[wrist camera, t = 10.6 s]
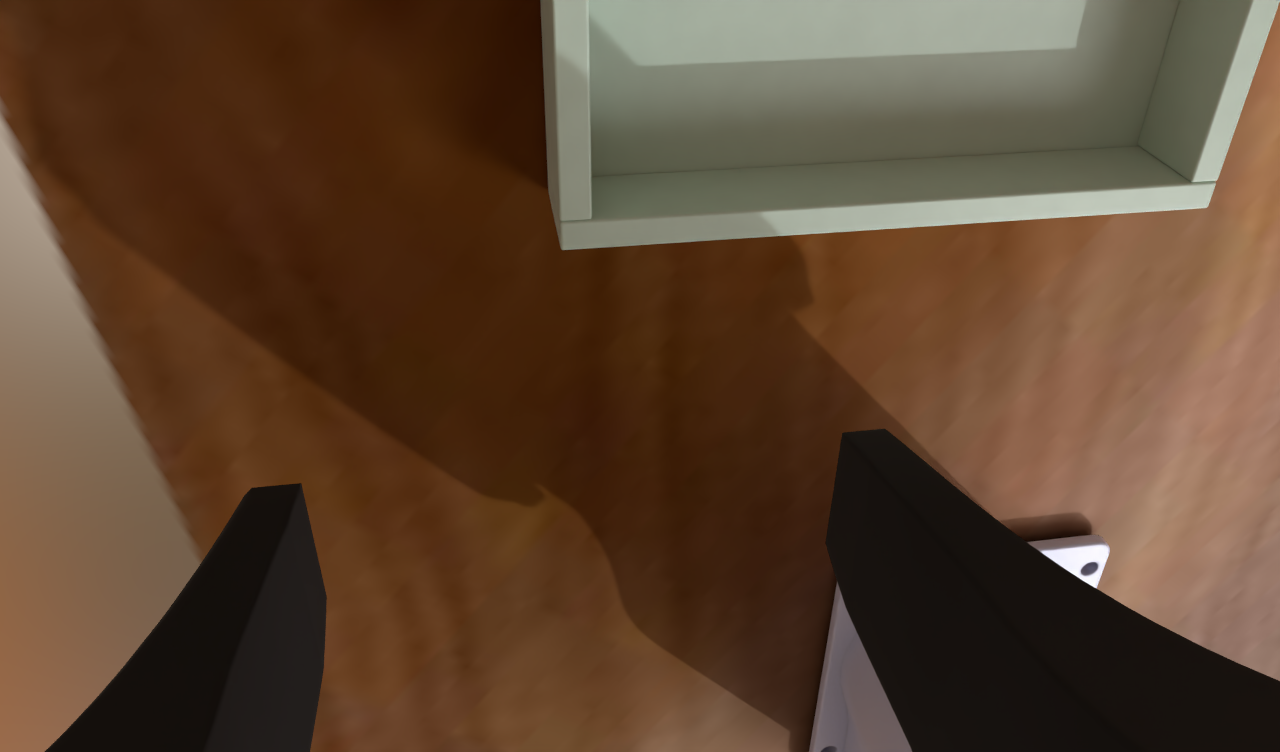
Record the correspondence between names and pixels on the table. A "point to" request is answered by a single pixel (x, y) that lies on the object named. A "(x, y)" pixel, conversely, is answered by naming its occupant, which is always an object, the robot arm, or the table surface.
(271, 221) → the table surface
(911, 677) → the robot arm
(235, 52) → the table surface
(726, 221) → the tray
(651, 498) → the table surface
